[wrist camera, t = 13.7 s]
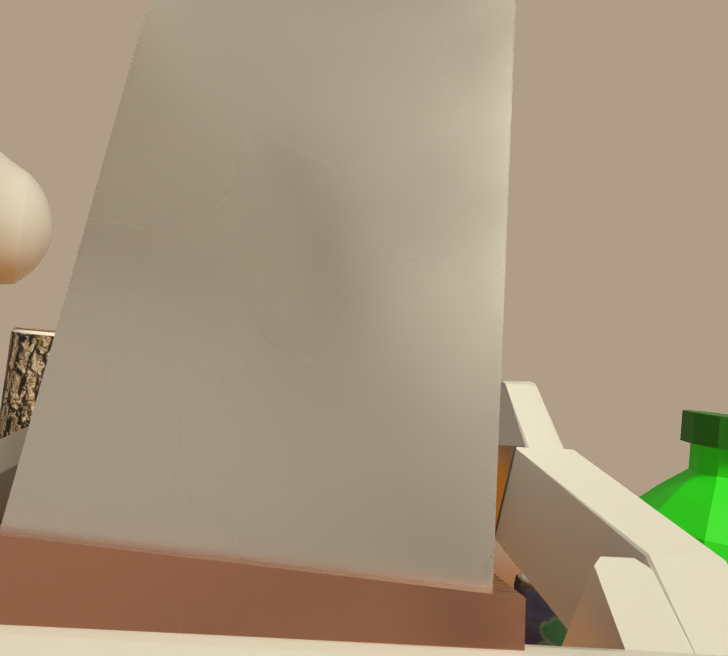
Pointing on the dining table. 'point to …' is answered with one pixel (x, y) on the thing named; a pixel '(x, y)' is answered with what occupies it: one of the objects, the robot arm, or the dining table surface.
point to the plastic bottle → (699, 483)
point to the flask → (539, 617)
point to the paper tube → (23, 377)
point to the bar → (283, 337)
